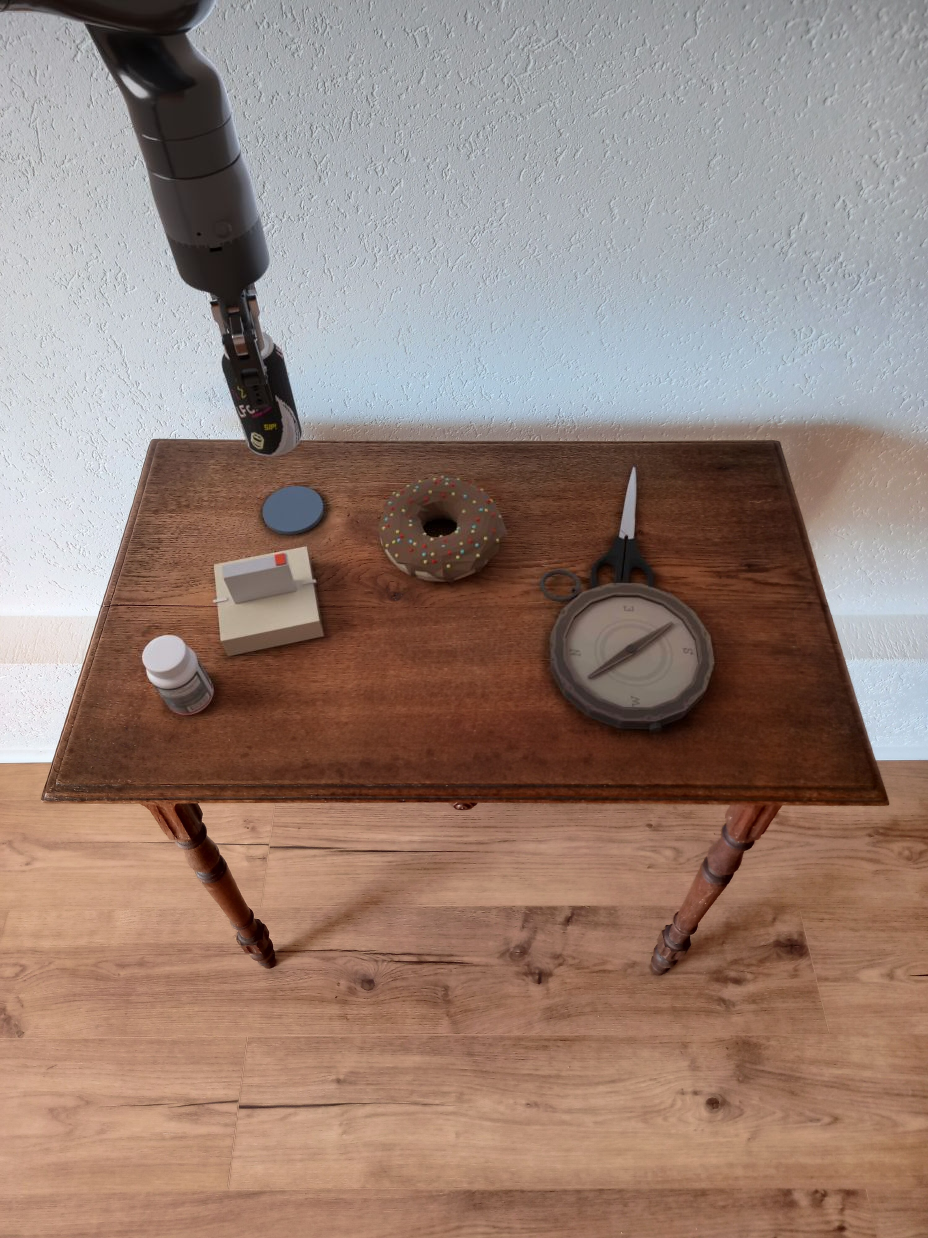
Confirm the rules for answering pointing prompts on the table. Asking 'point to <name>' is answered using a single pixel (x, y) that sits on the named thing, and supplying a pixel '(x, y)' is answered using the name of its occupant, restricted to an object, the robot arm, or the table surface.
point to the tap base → (270, 610)
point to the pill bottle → (177, 675)
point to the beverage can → (272, 425)
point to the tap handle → (259, 578)
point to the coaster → (293, 510)
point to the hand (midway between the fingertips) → (258, 383)
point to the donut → (445, 553)
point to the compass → (629, 654)
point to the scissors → (617, 550)
